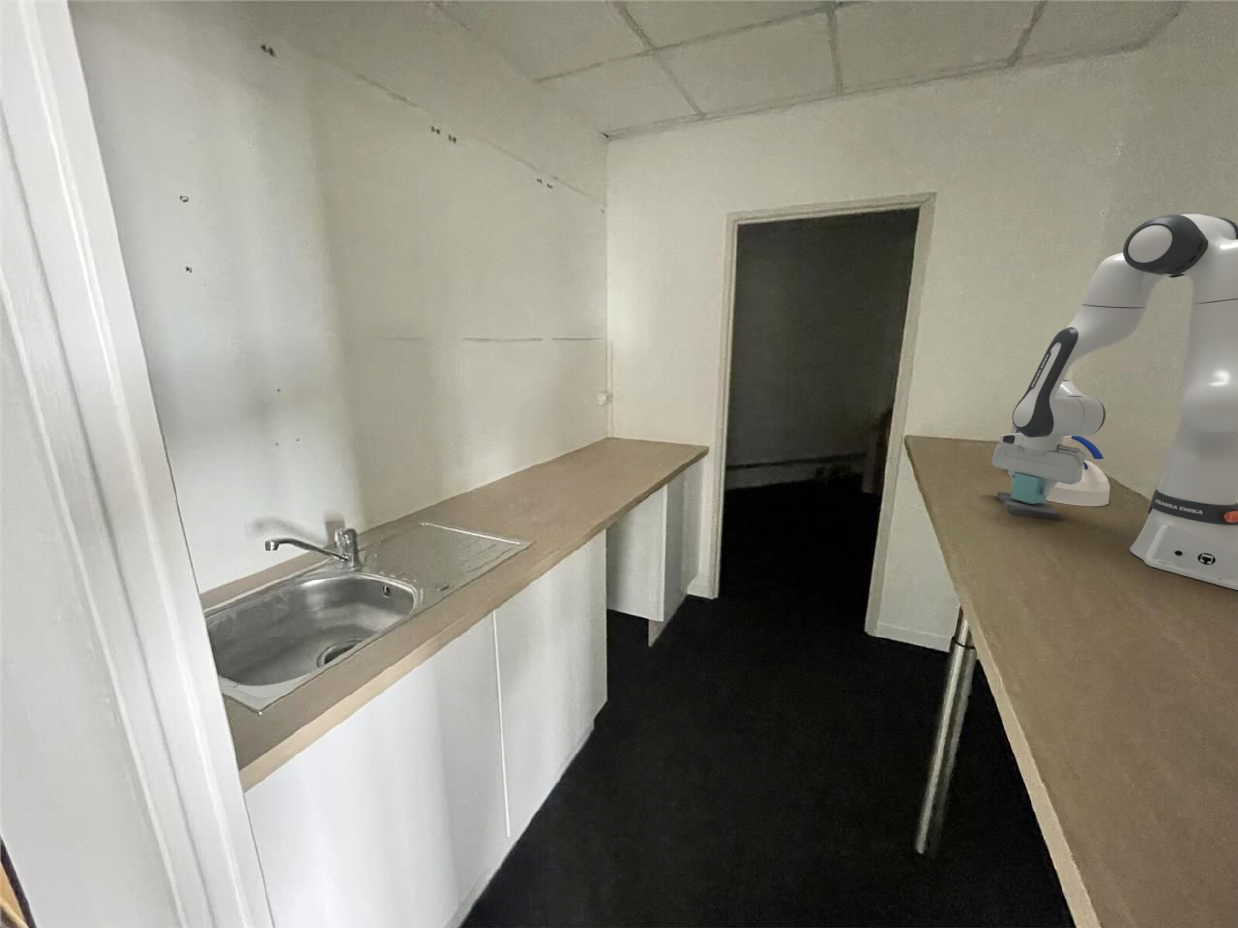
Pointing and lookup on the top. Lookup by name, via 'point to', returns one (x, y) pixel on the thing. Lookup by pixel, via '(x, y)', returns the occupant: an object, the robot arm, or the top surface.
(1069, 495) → the kettle
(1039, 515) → the post stand
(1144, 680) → the top surface
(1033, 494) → the teal cube
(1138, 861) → the top surface
